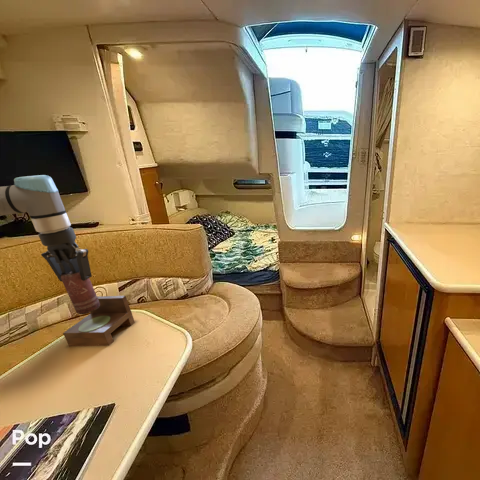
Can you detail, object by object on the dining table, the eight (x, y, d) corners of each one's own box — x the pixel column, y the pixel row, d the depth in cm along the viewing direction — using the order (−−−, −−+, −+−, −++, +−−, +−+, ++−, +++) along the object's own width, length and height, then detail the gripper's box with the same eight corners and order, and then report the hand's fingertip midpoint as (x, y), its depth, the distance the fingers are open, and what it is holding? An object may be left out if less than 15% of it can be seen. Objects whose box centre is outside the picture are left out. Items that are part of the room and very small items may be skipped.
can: (105, 306, 89) (89, 267, 84) (82, 316, 83) (64, 277, 79) (96, 302, 91) (80, 265, 87) (73, 312, 86) (55, 273, 81)
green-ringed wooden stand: (69, 348, 88) (55, 317, 84) (100, 324, 99) (88, 296, 95) (109, 347, 87) (97, 316, 83) (135, 324, 98) (125, 295, 94)
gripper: (89, 224, 81) (114, 292, 89) (45, 226, 82) (74, 293, 90) (65, 232, 74) (95, 305, 82) (18, 234, 75) (52, 306, 83)
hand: (84, 299), depth 86 cm, fingers closed on can
